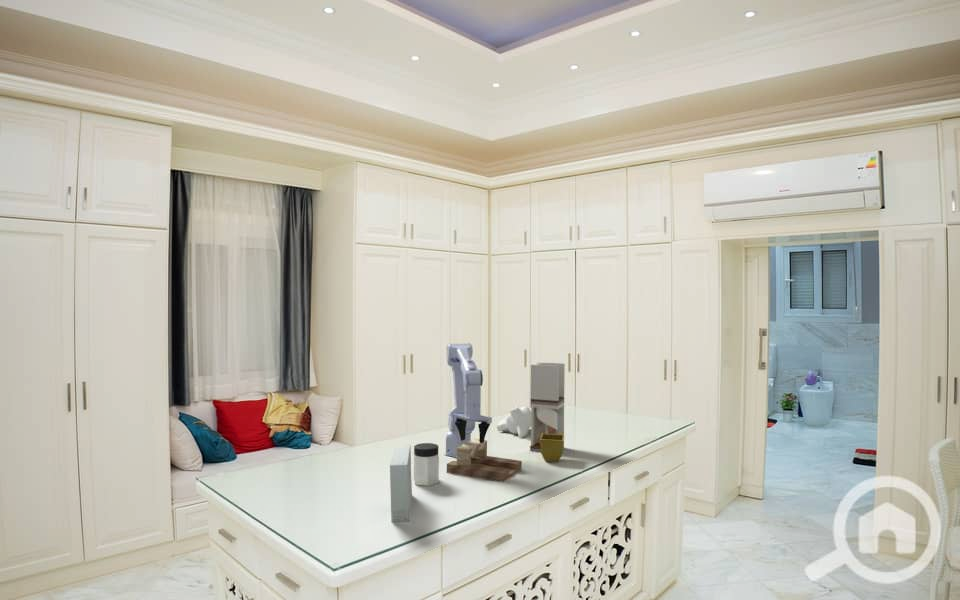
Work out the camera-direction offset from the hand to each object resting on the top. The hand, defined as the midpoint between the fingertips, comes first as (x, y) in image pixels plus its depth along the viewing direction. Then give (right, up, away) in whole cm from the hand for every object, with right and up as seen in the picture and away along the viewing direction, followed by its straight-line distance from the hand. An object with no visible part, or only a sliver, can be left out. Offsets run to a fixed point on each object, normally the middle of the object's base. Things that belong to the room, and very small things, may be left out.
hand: (472, 441), depth 200 cm
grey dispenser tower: (+30, -10, +27) cm, 42 cm away
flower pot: (+30, -10, +12) cm, 34 cm away
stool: (0, -7, 0) cm, 7 cm away
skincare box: (-20, -10, -38) cm, 44 cm away
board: (+4, -10, -2) cm, 11 cm away
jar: (-15, -10, -15) cm, 24 cm away
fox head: (+19, -11, +55) cm, 59 cm away
